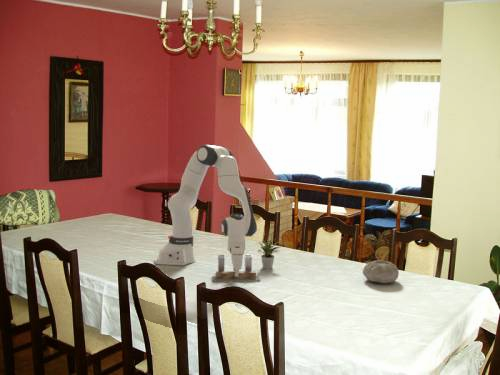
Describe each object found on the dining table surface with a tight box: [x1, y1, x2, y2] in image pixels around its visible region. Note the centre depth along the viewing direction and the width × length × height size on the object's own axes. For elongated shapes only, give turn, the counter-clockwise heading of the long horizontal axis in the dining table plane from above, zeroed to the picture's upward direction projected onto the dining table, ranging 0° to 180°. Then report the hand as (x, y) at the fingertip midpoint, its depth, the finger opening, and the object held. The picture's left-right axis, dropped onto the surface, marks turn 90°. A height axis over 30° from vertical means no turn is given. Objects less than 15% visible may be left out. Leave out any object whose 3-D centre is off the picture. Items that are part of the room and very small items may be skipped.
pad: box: [211, 275, 261, 283], centre depth 302 cm, size 24×7×1 cm, turn 96°
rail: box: [215, 270, 257, 279], centre depth 302 cm, size 20×3×3 cm, turn 96°
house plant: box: [257, 237, 282, 270], centre depth 322 cm, size 14×14×16 cm
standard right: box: [244, 253, 253, 271], centre depth 310 cm, size 5×6×10 cm
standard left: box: [216, 253, 227, 272], centre depth 308 cm, size 5×6×10 cm
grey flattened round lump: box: [362, 259, 400, 284], centre depth 303 cm, size 18×18×10 cm
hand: (235, 273), depth 302 cm, fingers open, 8 cm apart
